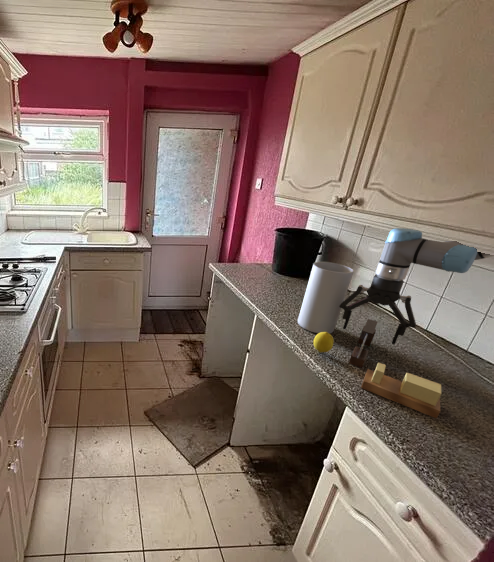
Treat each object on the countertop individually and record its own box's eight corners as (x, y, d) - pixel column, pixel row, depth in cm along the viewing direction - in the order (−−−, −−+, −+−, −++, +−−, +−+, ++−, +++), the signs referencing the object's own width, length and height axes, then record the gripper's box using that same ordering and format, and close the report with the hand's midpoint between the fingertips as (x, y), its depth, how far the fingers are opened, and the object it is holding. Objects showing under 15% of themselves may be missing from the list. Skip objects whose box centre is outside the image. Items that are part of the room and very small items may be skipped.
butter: (435, 396, 84) (441, 384, 82) (435, 406, 80) (441, 393, 79) (401, 383, 88) (406, 372, 87) (400, 392, 85) (405, 380, 83)
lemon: (308, 352, 106) (315, 331, 103) (313, 346, 110) (319, 326, 107) (327, 359, 103) (334, 338, 100) (331, 352, 106) (338, 332, 103)
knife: (372, 336, 111) (377, 321, 109) (363, 360, 98) (369, 343, 95) (362, 333, 113) (368, 318, 111) (352, 356, 99) (358, 340, 97)
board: (436, 402, 85) (440, 395, 84) (436, 418, 80) (440, 411, 79) (364, 375, 95) (367, 368, 94) (360, 387, 90) (363, 380, 89)
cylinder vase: (294, 316, 130) (310, 260, 121) (329, 322, 126) (347, 264, 117) (299, 331, 119) (317, 269, 110) (337, 337, 115) (358, 275, 106)
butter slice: (381, 376, 91) (385, 365, 90) (379, 384, 88) (384, 372, 86) (373, 373, 92) (378, 362, 91) (371, 381, 89) (376, 369, 87)
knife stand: (370, 343, 112) (376, 329, 110) (362, 368, 98) (368, 352, 96) (358, 340, 115) (363, 325, 112) (348, 363, 101) (354, 347, 99)
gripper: (340, 270, 105) (324, 325, 112) (443, 291, 89) (415, 354, 97) (345, 265, 110) (328, 318, 118) (442, 284, 94) (416, 345, 102)
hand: (368, 334), depth 107 cm, fingers open, 13 cm apart
